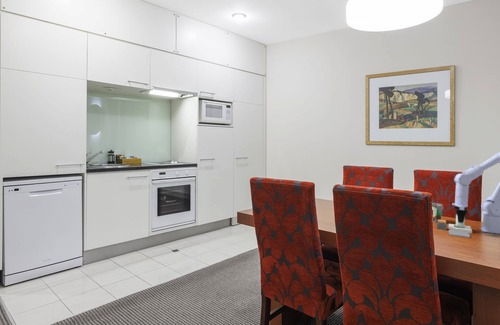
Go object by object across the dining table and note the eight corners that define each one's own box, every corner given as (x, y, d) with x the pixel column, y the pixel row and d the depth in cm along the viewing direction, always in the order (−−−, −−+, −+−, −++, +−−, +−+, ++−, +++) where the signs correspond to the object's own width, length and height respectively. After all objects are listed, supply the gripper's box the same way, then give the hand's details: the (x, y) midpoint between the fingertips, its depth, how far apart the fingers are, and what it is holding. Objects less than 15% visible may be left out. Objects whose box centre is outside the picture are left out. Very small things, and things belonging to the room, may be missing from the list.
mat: (468, 233, 167) (468, 232, 167) (470, 237, 159) (470, 236, 159) (448, 230, 171) (448, 230, 171) (448, 234, 163) (449, 234, 163)
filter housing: (470, 228, 176) (470, 223, 176) (471, 233, 167) (472, 227, 167) (436, 224, 184) (437, 219, 184) (437, 228, 175) (437, 223, 175)
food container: (447, 223, 188) (448, 206, 188) (436, 223, 188) (437, 206, 188) (435, 218, 200) (436, 202, 200) (425, 218, 201) (426, 202, 200)
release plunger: (445, 227, 176) (445, 220, 176) (445, 229, 173) (446, 221, 173) (437, 226, 178) (438, 219, 178) (437, 228, 175) (438, 220, 175)
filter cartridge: (463, 229, 175) (464, 213, 174) (464, 231, 171) (465, 215, 171) (455, 228, 177) (456, 212, 176) (455, 230, 173) (456, 214, 173)
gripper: (452, 193, 181) (450, 217, 182) (453, 197, 169) (452, 222, 170) (467, 194, 178) (465, 219, 179) (469, 198, 165) (468, 224, 166)
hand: (460, 221), depth 174 cm, fingers open, 7 cm apart
